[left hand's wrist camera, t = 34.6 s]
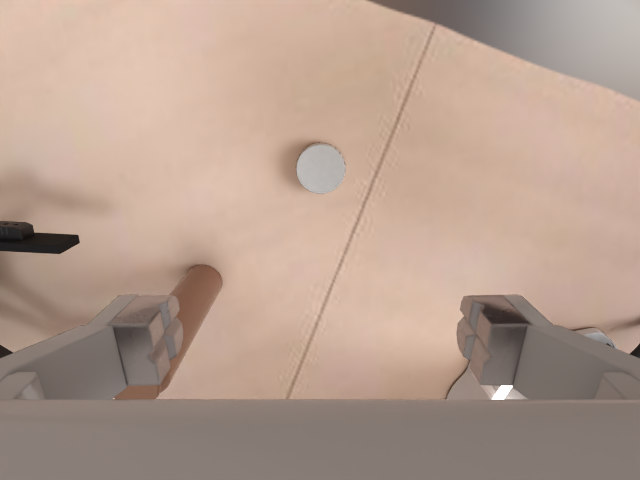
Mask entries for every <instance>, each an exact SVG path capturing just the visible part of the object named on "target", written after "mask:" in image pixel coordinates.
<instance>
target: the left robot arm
mask: <svg viewBox="0 0 640 480" xmlns="http://www.w3.org/2000/svg"><path fill="white" fill-rule="evenodd" d="M179 310H180V307H179V302H178V299H177V298H176V296H171V295H119V296H118V297H117V298H116V299H114V300H113V301H112V302H111V303H110V304H109V305H108V306H107V307H106V308H105V309H104V310H103V311H101V312H100V313H99V314H98V315H97V316H96V317H95V318H94V319H93V320H92V321H91V322H90V323H88V324H87V325H86V326H78V327H76V328H73V329H71V330H68V331H66V332H63V333H61V334H59V335H56V336H54V337H51V338H49V339H46V340H44V341H41V342H39V343H37V344H34V345H32V346H29V347H27V348H24V349H22V350H19V351H17V352H15V353H12V354H10V355H7V356H5V357H2V358H0V480H640V344H639V345H638V346H637V347H636V348H635V349H634V350H633V351H632V352H631V353H630V354H628V353H625V352H623V351H620V350H618V349H617V347H616V345H615V344H614V343H613V342H612V340H611V339H610V338H609V337H608V336H607V335H606V334H605V333H603V332H602V331H600V330H599V329H597V328H588V329H582V330H577V331H572V330H569V329H567V328H564V327H562V326H554V325H553V324H552V323H551V322H549V321H548V320H547V319H546V318H545V317H544V316H543V315H542V314H541V313H540V312H539V311H538V310H536V309H535V308H534V307H533V306H532V305H531V304H530V303H529V302H528V301H527V300H526V299H525V298H524V297H522V296H520V295H517V294H516V295H477V296H464V297H463V299H462V301H461V307H460V310H461V312H462V313H463V315H464V317H463V318H462V319H461V320H460V321H459V322H458V326H457V343H458V346H459V349H460V351H461V353H462V355H463V356H464V357H465V358H467V359H468V360H470V362H469V365H468V368H467V370H466V371H465V373H464V374H463V375H462V376H461V377H460V378H459V379H458V380H457V381H456V383H455V384H454V385H453V386H452V388H451V390H450V391H449V393H448V396H447V399H113V398H114V397H115V396H117V395H118V394H119V393H121V392H122V391H123V390H125V389H126V388H127V386H143V385H160V384H161V383H162V381H163V379H164V378H165V376H166V374H167V372H168V371H169V369H170V362H169V361H170V360H172V359H173V358H175V357H176V356H177V355H178V353H179V351H180V349H181V346H182V342H183V326H182V322H181V321H180V320H179V319H178V318H177V317H176V315H177V313H178V312H179Z"/></svg>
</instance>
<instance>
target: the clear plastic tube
mask: <svg viewBox="0 0 640 480" xmlns="http://www.w3.org/2000/svg"><path fill="white" fill-rule="evenodd" d="M221 288H222V278H221V276H220V274H219V273H218V272H217V271H216V270H215V269H214V268H212V267H210V266H207V265H197V266H194V267H192V268H191V269H190V270H189V271H188V272H187V273H186V274H185V276H184V277H183V278H182V279H181V281H180V282H179V283H178V284H177V286H176V287H175V288H174V289H173V291H172V292H171V293H170V294H169V295H171V296H176V298H177V299H178V302H179V307H180V310H179V312H178V313H177V315H176V317H177V318H178V319H179V320H180V321H181V322H182V326H183V342H182V346H181V349H180V351H179V353H178V355H177V356H176V357H175V358H173V359H172V360H170V361H169V362H170V369H169V371H168V372H167V374H166V376H165V378H164V379H163V381H162V383H161V384H160V385H143V386H127V388H126V389H125V390H123V391H122V392H121V393H119V394H118V395H117V396H115V397H114V398H115V399H156V398H157V397H158V395H159V393H161V392H162V391H164V390H165V389H166V388H167V387H168V385H169V384H170V382H171V380H172V378H173V376H174V374H175V373H176V371H177V369H178V367H179V365H180V363H181V362H182V360H183V358H184V356H185V354H186V352H187V351H188V349H189V347H190V345H191V343H192V341H193V340H194V338H195V336H196V334H197V332H198V330H199V329H200V327H201V325H202V323H203V321H204V319H205V318H206V316H207V314H208V312H209V310H210V308H211V307H212V305H213V303H214V301H215V299H216V297H217V296H218V294H219V292H220V290H221Z"/></svg>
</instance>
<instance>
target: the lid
mask: <svg viewBox="0 0 640 480" xmlns="http://www.w3.org/2000/svg"><path fill="white" fill-rule="evenodd" d="M343 159H344V158H343V157H342V156H341V153H340V152H339V151H338V150H337V148H336V147H335V148H334V147H333V146H332V145H331V144H330V145H329V144H326V143H320V142H319V143H316V144H314V143H313V145H310V146H307V148H306V149H305V150H304V149H303V152H302V153H301V154H300V155H299V159H298V160H297V165H296V171H297V172H296V174H297V176H298V180H299V181H300V183H301V184H302V185H303V187H305V188H306V189H307V190H309V191H311V192H313V193H318V194H324V193H328V192H331V191H333V190H334V189H336V188H337V187H338V186H339V185H340V184H341V182H342V180H343V178H344V175H345V171H346V170H345V162H344V160H343Z"/></svg>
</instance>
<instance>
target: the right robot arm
mask: <svg viewBox="0 0 640 480" xmlns="http://www.w3.org/2000/svg"><path fill="white" fill-rule="evenodd" d="M78 243H80V242H79V236H78V235H69V234H50V233H34V230H33V225H31V224H29V223H26V222H9V221H0V251H13V252H33V253H52V254H61V253H62V252H64V251H66V250H68V249H69V248H71V247H73V246H75V245H77V244H78ZM12 353H13V352H11V351H9V350H8V349H6V348H4V347H3V346H1V345H0V358H2V357H5V356H7V355H10V354H12Z"/></svg>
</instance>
